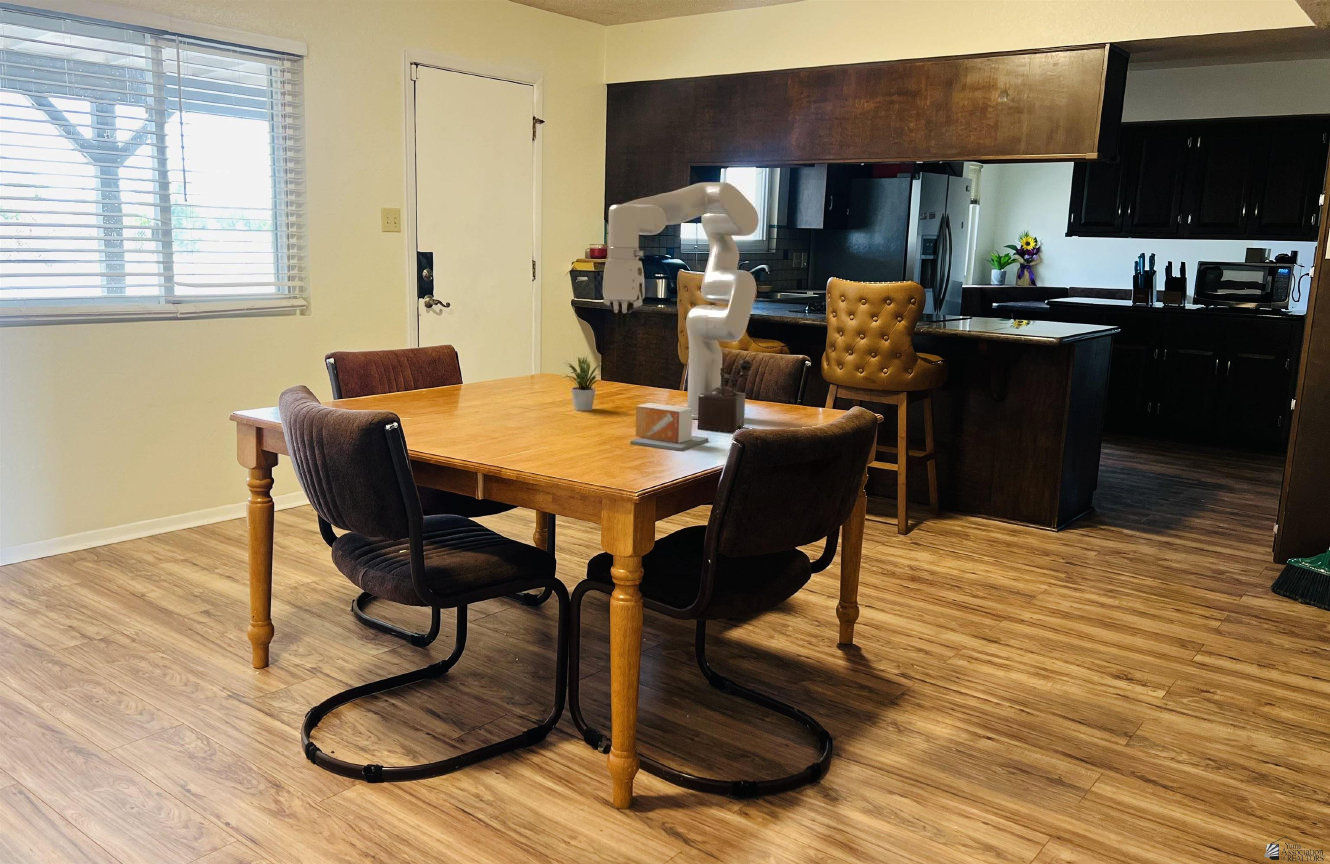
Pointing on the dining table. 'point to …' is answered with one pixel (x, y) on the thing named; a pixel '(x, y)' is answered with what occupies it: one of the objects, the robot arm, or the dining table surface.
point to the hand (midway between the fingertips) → (622, 328)
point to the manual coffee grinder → (723, 404)
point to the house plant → (583, 385)
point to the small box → (664, 422)
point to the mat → (669, 443)
